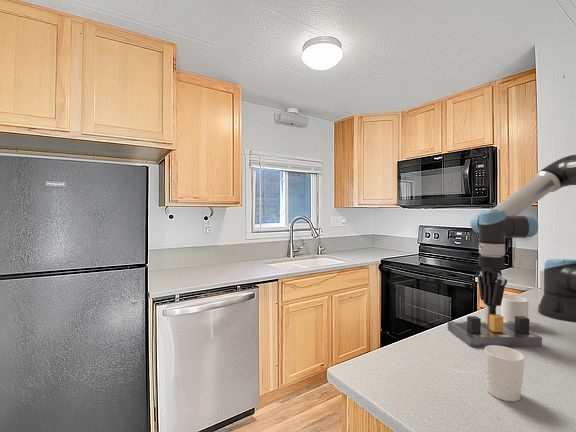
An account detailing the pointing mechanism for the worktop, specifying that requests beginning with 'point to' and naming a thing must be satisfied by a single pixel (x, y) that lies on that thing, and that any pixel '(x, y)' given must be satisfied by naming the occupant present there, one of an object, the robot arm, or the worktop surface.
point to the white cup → (504, 372)
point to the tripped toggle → (496, 323)
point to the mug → (513, 307)
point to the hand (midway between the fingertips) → (489, 323)
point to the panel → (495, 333)
